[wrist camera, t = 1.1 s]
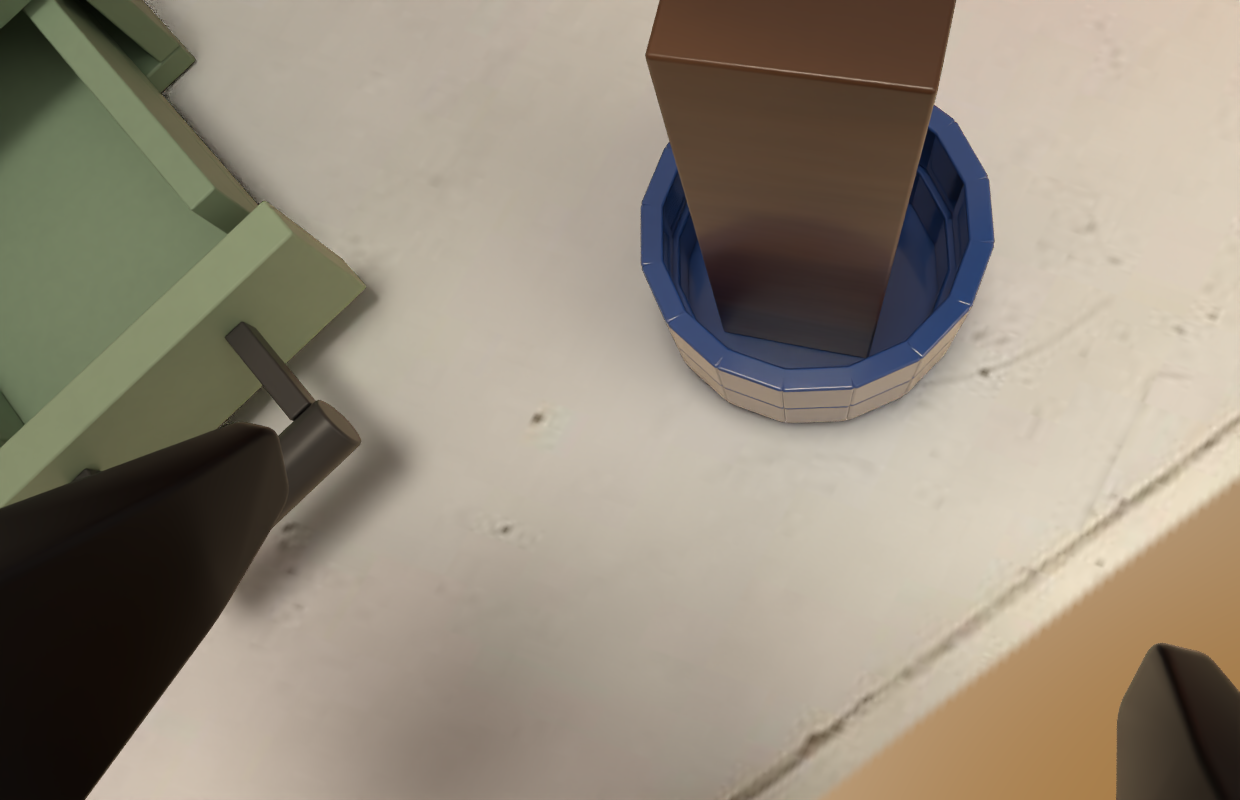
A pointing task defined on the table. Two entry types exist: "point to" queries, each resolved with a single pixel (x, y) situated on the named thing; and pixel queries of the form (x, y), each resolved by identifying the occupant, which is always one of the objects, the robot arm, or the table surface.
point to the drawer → (139, 274)
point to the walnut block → (798, 151)
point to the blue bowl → (910, 314)
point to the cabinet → (131, 36)
